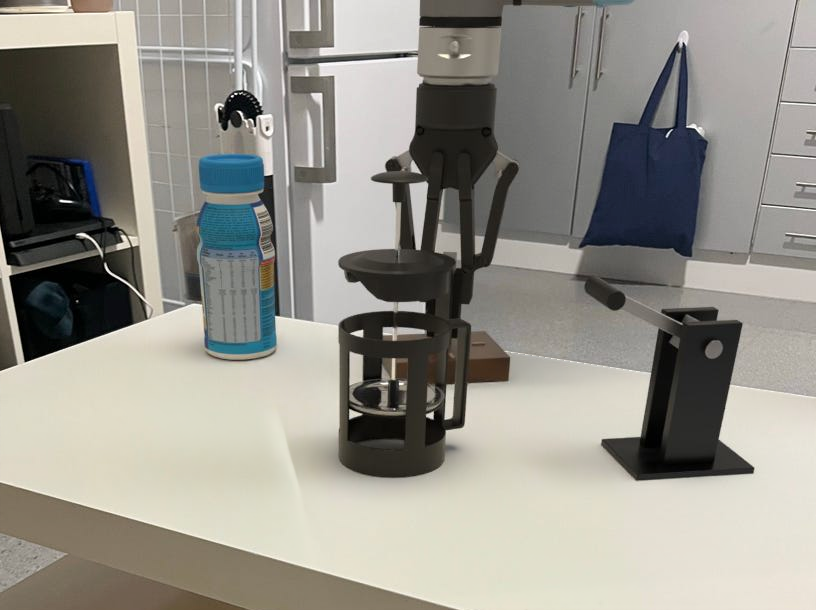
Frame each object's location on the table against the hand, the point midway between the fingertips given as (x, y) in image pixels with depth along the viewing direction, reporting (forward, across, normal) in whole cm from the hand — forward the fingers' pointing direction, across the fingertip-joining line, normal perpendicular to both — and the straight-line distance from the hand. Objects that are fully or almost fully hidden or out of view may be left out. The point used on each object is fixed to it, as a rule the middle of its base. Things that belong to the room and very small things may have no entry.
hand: (443, 333), depth 107 cm
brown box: (+4, 0, 0) cm, 4 cm away
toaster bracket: (+4, +23, -24) cm, 33 cm away
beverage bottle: (+4, -23, +2) cm, 24 cm away
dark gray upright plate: (+1, 0, 0) cm, 1 cm away
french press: (+4, 0, -28) cm, 28 cm away
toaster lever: (-8, +19, -25) cm, 32 cm away
